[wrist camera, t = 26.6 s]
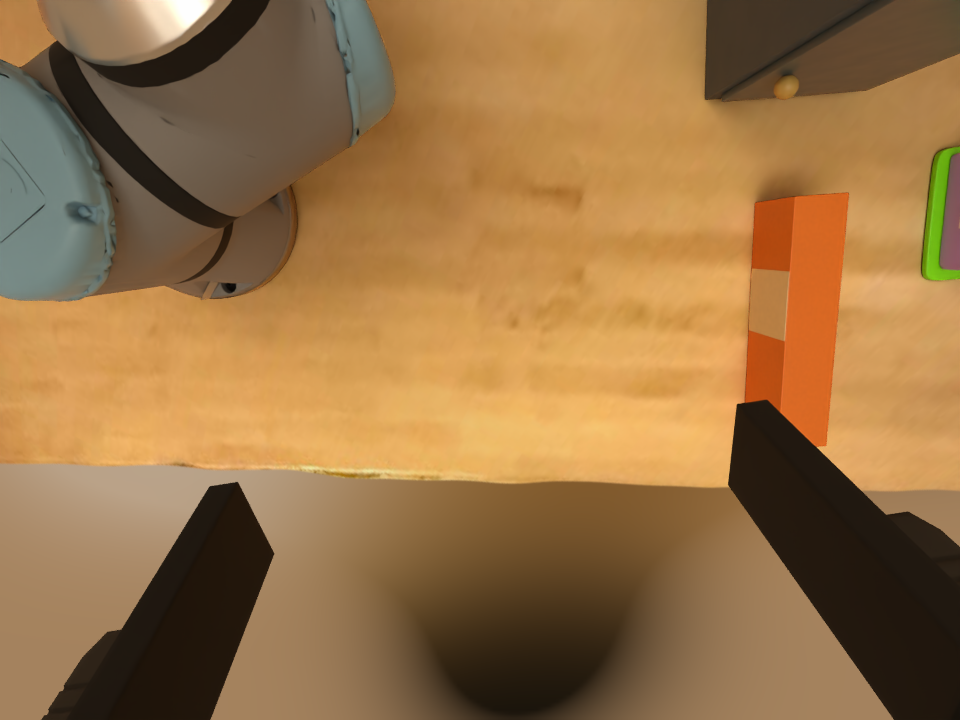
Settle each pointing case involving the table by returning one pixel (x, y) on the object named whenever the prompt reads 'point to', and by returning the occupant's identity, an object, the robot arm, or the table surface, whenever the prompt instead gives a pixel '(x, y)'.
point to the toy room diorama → (943, 218)
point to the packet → (796, 307)
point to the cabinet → (822, 44)
